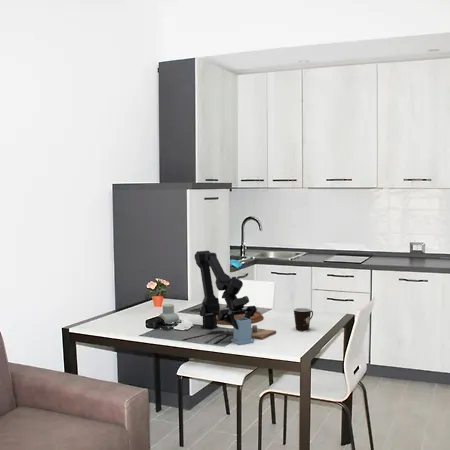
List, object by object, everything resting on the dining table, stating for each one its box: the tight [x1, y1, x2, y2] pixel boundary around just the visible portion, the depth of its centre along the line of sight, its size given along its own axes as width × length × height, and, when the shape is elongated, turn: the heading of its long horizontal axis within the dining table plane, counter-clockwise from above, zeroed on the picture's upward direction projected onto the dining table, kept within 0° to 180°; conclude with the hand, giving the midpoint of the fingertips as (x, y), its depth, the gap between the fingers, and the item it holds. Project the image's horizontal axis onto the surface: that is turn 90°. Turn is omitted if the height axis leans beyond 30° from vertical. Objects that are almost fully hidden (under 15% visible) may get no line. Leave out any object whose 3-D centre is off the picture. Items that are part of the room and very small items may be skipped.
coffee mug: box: [293, 307, 314, 332], centre depth 305 cm, size 12×9×10 cm
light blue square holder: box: [230, 317, 255, 346], centre depth 283 cm, size 8×8×10 cm
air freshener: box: [158, 303, 180, 323], centre depth 321 cm, size 11×8×10 cm
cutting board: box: [216, 308, 264, 326], centre depth 332 cm, size 32×32×3 cm
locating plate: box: [232, 324, 277, 341], centre depth 297 cm, size 16×14×4 cm
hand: (243, 328), depth 281 cm, fingers closed on light blue square holder, 6 cm apart
